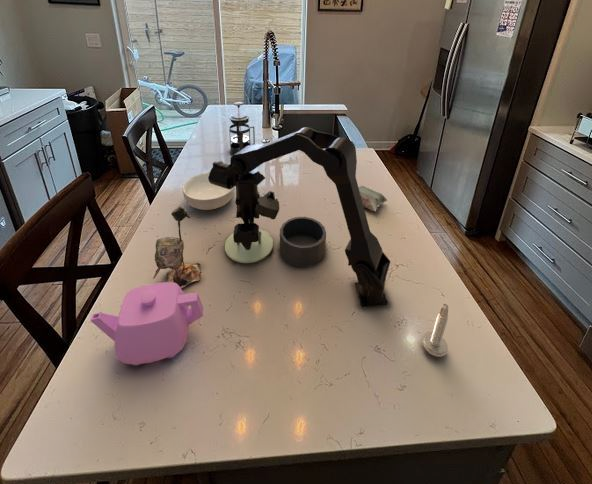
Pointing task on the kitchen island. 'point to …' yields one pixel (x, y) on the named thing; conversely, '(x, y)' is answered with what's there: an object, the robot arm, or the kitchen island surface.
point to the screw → (437, 335)
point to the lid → (256, 251)
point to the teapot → (151, 322)
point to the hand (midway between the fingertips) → (248, 239)
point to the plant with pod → (175, 256)
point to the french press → (240, 139)
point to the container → (302, 241)
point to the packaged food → (371, 198)
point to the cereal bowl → (205, 193)
